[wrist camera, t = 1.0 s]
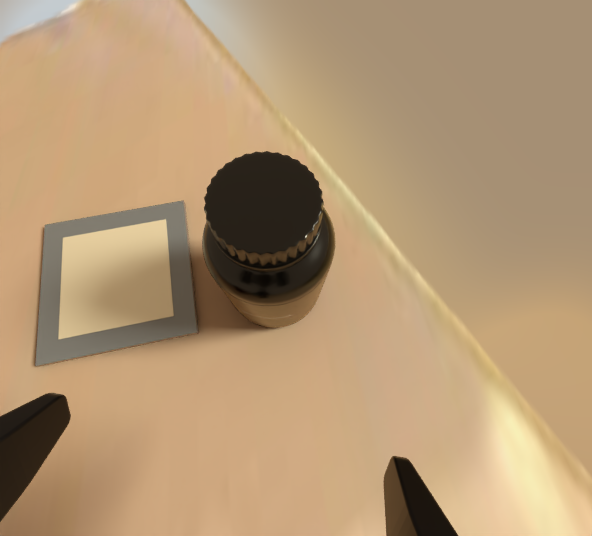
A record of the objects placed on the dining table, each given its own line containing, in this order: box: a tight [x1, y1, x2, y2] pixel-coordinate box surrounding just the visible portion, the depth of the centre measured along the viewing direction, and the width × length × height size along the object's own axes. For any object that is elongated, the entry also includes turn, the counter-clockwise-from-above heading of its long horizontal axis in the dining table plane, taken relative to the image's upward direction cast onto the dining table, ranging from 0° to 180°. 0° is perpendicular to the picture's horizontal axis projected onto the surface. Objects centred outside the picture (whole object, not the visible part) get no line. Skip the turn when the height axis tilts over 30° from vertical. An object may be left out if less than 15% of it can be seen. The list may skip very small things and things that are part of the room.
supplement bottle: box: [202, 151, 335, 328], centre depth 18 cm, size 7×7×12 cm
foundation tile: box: [35, 201, 198, 366], centre depth 23 cm, size 11×11×1 cm
